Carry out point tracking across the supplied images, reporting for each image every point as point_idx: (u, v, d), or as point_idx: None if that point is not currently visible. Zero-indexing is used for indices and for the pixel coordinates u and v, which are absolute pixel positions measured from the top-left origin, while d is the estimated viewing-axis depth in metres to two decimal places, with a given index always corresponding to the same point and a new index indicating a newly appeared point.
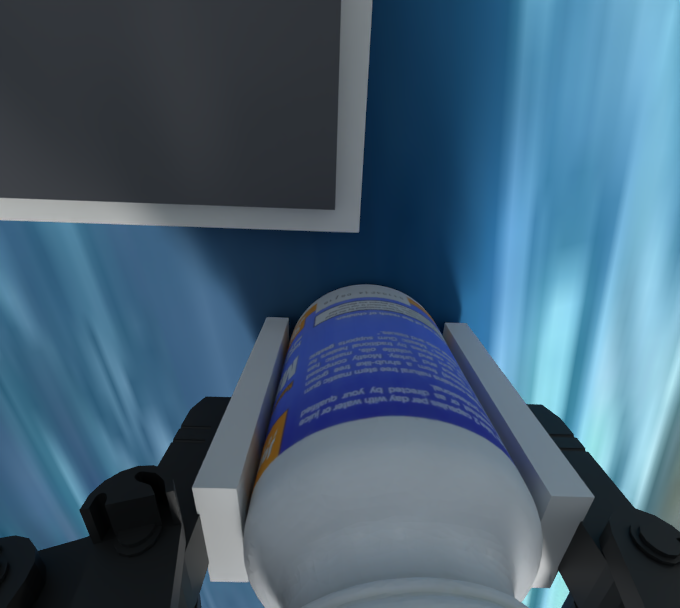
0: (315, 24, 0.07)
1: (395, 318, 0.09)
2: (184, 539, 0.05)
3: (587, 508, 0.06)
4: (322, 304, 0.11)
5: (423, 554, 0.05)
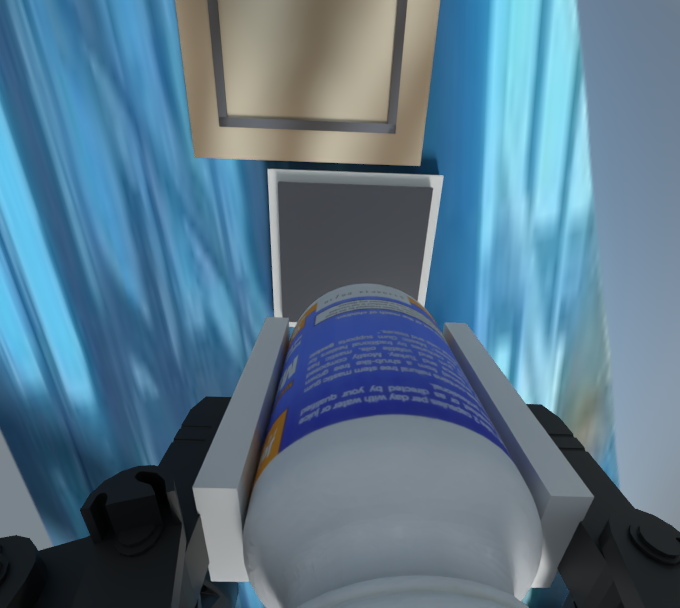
0: (413, 275, 0.23)
1: (396, 318, 0.09)
2: (185, 539, 0.05)
3: (587, 508, 0.06)
4: (322, 303, 0.11)
5: (423, 552, 0.05)
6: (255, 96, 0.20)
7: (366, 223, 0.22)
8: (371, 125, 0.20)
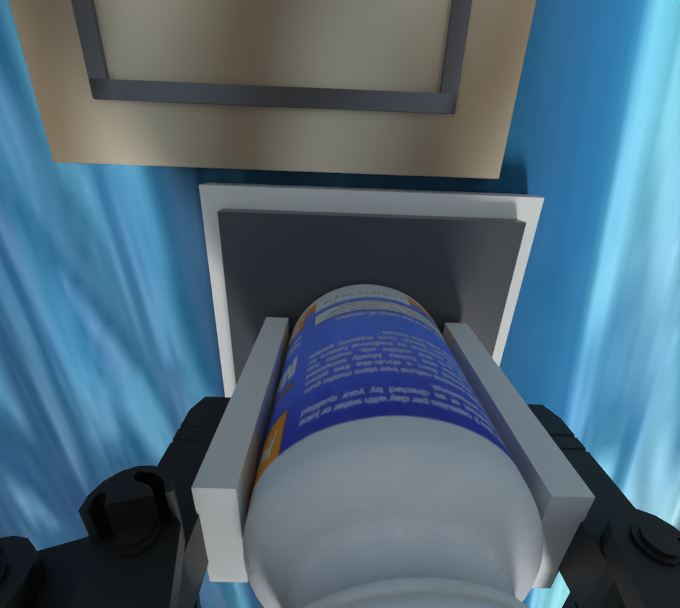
0: None
1: (395, 318, 0.09)
2: (183, 539, 0.05)
3: (588, 508, 0.06)
4: (321, 304, 0.11)
5: (424, 554, 0.05)
6: (162, 33, 0.09)
7: (392, 287, 0.12)
8: (406, 96, 0.10)
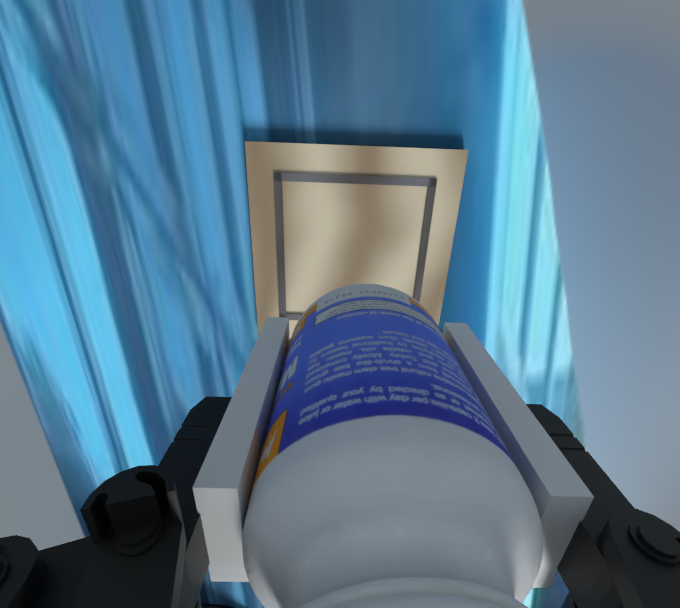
0: None
1: (396, 318, 0.09)
2: (185, 539, 0.05)
3: (586, 508, 0.06)
4: (322, 303, 0.11)
5: (423, 554, 0.05)
6: (308, 299, 0.26)
7: None
8: None
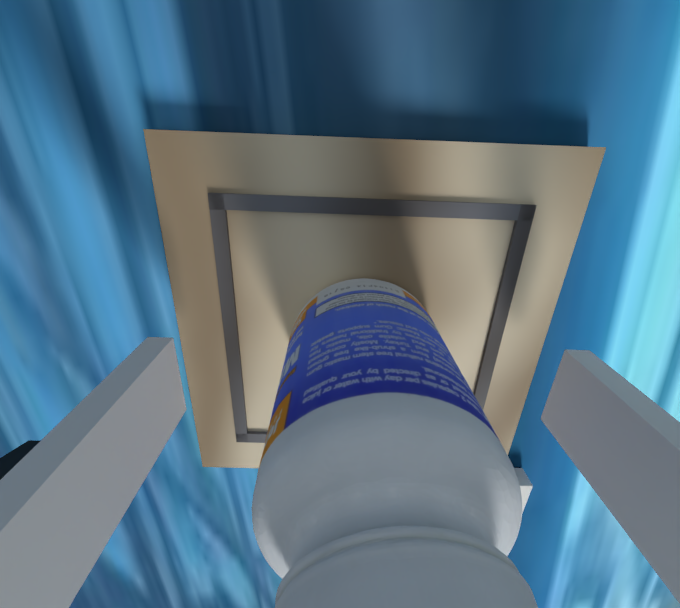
0: None
1: (391, 309, 0.10)
2: None
3: None
4: (322, 297, 0.11)
5: (413, 510, 0.05)
6: None
7: None
8: None
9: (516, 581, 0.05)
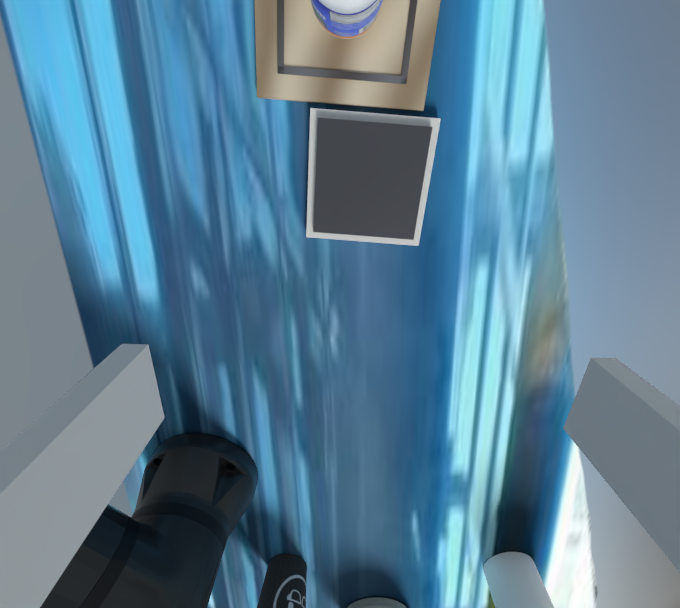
0: (414, 197, 0.31)
1: None
2: None
3: None
4: None
5: None
6: (305, 51, 0.27)
7: (381, 153, 0.30)
8: (389, 77, 0.28)
9: None
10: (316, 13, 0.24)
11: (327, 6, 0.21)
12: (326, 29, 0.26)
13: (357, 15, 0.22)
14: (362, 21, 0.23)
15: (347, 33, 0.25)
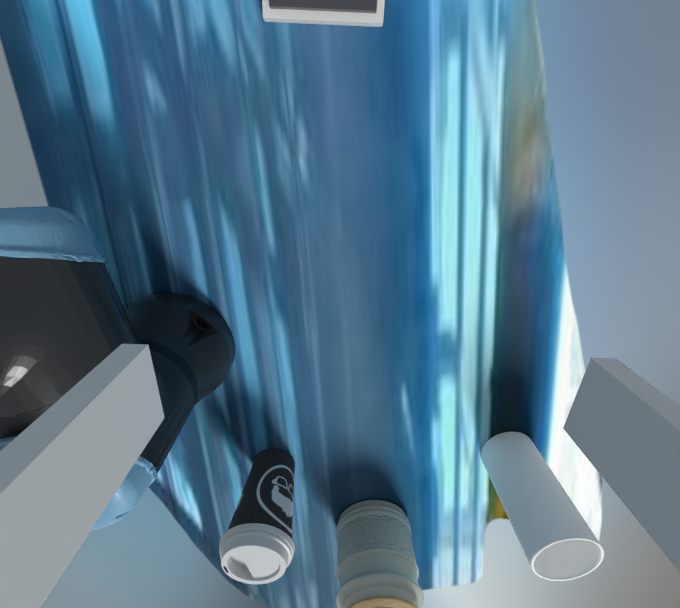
0: None
1: None
2: None
3: None
4: None
5: None
6: None
7: None
8: None
9: None
10: None
11: None
12: None
13: None
14: None
15: None
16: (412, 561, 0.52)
